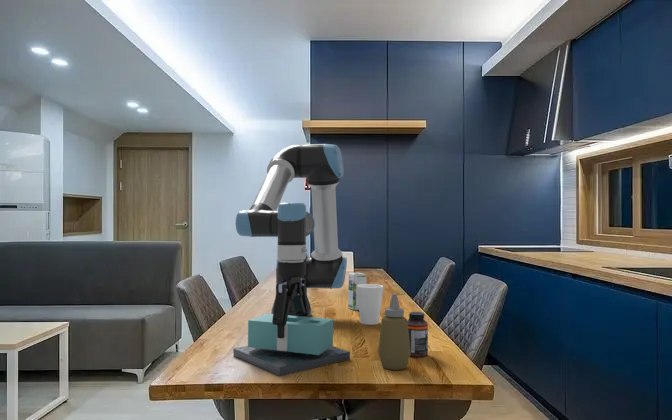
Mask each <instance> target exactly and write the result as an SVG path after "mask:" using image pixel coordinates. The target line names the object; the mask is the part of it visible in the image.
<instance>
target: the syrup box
mask: <svg viewBox="0 0 672 420" xmlns="http://www.w3.org/2000/svg"><path fill="white" fill-rule="evenodd" d="M347 282H348V287H347V289H348V291H347V308H348V309H350V310H353V311H359V305H358V297H357V293H356V286H357V285H361V284H367V273H362V272H348V281H347Z"/></svg>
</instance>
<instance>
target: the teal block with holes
mask: <svg viewBox="0 0 672 420" xmlns="http://www.w3.org/2000/svg"><path fill="white" fill-rule="evenodd" d="M272 320H273V314H271V313H264V314H262V315H258V316H256V317H253V318H251V319H249V320H247V321H248V323H247V325H248V326H247V329H248V330H247V346H248V347H251V348H260V349H269V350H277V325H274V324H273V323H272ZM286 325H288V351H287V352H296V353H305V354H314V355H320V354H321V353H323V352H324V351H326V350H327V349H328V348H330V347H331V346H334V319H333V318H323V317H313V316H310V317H302V316H290V315H288V318H287V322H286ZM278 351H279V350H278Z"/></svg>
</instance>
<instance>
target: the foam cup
mask: <svg viewBox="0 0 672 420" xmlns="http://www.w3.org/2000/svg"><path fill="white" fill-rule="evenodd" d="M356 293H357V297H358V305H359V310H358V312H359V313H358V314H359V320H360V323H361V324H362V325H373V326H374V325H378V324H379V322H380V316H381V308H382V300H383V294H384V285H382V284H376V283H366V284H361V285H357V286H356Z"/></svg>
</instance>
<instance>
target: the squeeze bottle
mask: <svg viewBox="0 0 672 420" xmlns="http://www.w3.org/2000/svg"><path fill="white" fill-rule="evenodd" d="M404 313H405V309H404V308H402V307H400V304H399V298H398V294H397V293H392V294H391V299H390V302H389V306H388V307H386V308H385V309H384V315H385V316H383V317H381V321H380V330H379V340H378V348H377V349H378V350H377V353H378V356H379V360H380V363H381V366H382V368H384V369H387V370H393V371H398V370H399V371H400V370H405V369H406V368H407V366H408V363H409V359H410V357H411V356H410V353H411V352H410V341H409V331H408V319H407V318H406V317H405V316H404V315H405V314H404Z"/></svg>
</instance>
